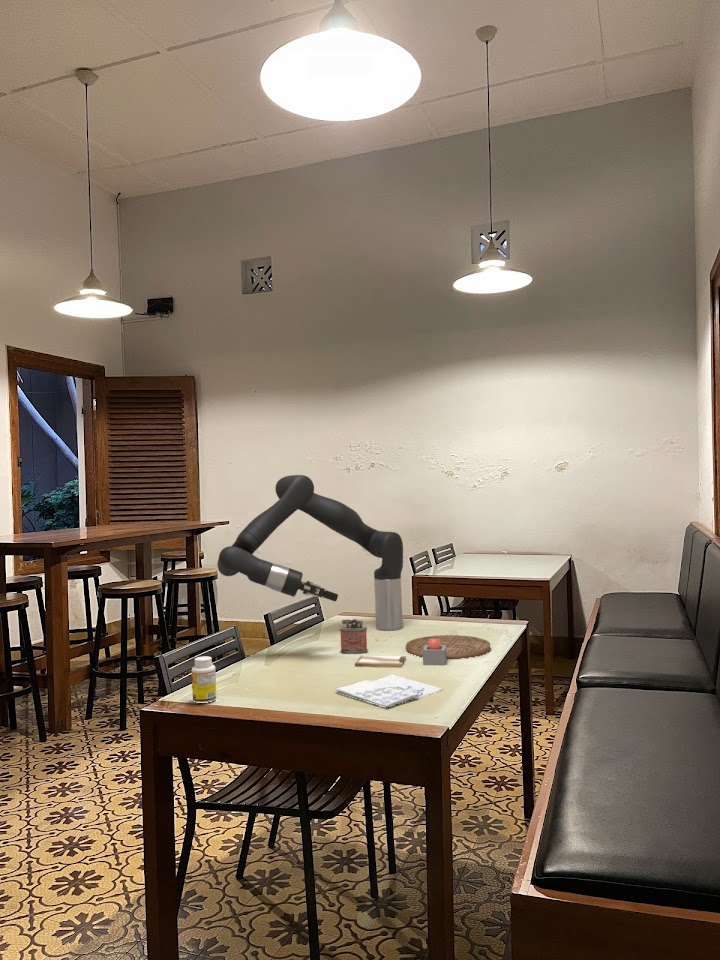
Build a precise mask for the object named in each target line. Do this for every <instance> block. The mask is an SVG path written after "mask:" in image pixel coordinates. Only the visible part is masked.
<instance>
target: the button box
mask: <svg viewBox="0 0 720 960" xmlns="http://www.w3.org/2000/svg"><path fill="white" fill-rule="evenodd" d="M445 663H447V653H446V645H440V649H429V645H425V646H424V648H423V658H422V665H424V666H428V665H429V666H433V665H434V666H445V665H446V664H445Z"/></svg>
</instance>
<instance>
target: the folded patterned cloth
mask: <svg viewBox="0 0 720 960" xmlns="http://www.w3.org/2000/svg"><path fill="white" fill-rule="evenodd" d="M388 687H392V688H397V689H403V690H404V691H403V690H397V689H392V688H388ZM441 690H443V691H444V689H443V687H438V686H435V685H432V684H431V685H430V684H427V683H423V682H419V681H417V680H414V679H409V678H407V677H402V676H398V675H396V674H394V673H392V674H390V675H387V676H385V677H382V678H378V679H374V680H369V679H365V680H362V681H359V682H356V683H353V684H350V685H347V686H342V687H336V688H335V691H334V693H335V692H338V693H341V694H344V695H347V696H351V697H354V698H357V699H361V700H365V701H369V702H372V703H375V704H378V705H381V706H385V707H390V708H392V707H391V706H393V705H396V704H399V703H402V702H405V701H408V702H410V701H409V700H412V701H414V700H413V699H415V700H417V699H416V698H421V699H422V698H423V697H422V696H425V697H427V696H426V695H428V696H430V695H429V694H431V695H433V694H432V693H434V694H436V693H435V692H437V693H439V692H438V691H440V692H442V691H441ZM344 695H343V696H344ZM347 696H346V697H347ZM405 703H406V702H405ZM402 704H403V703H402ZM399 705H400V704H399ZM396 706H397V705H396ZM393 707H394V706H393Z"/></svg>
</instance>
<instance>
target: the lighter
mask: <svg viewBox="0 0 720 960" xmlns="http://www.w3.org/2000/svg"><path fill="white" fill-rule="evenodd" d="M363 624H364V623H363V619H356V618H352V619H342V620H341V625H345V626H341V627H339V631H340V654H341V653H342V654H341V655H365V654H368V652H369V651H368V643H367V641H368V639H367V631H368V630H367V629H368V628H367V626H363ZM364 653H365V654H364Z"/></svg>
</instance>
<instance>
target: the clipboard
mask: <svg viewBox="0 0 720 960" xmlns="http://www.w3.org/2000/svg"><path fill="white" fill-rule="evenodd" d="M406 660H407V656H405V655H360V656H359V658H358V659H357V660H356V661H355V663H354V667H357V666H360V667H362V666H373V667H375V668H377V667H379V668H402V667H403V665H405V662H406ZM373 667H372V668H373Z"/></svg>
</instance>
